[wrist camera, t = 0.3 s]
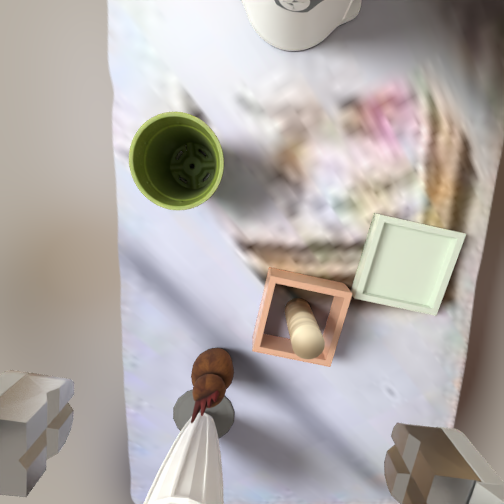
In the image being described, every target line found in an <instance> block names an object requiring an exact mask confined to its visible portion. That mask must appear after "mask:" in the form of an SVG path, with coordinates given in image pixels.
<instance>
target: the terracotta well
mask: <svg viewBox="0 0 504 504" xmlns="http://www.w3.org/2000/svg"><path fill="white" fill-rule="evenodd" d="M275 283H277V284H282V285H286V286H291V287H296V288H300V289H305V290H310V291H315V292H319V293H324V294H329V295H333V296H334V299H333V302H332V305H331V309H330V312H329V316H328V319H327V323H326V326H325V329H324V333H323V338H324V341H325V347H324V350H323V352H322V353H321V354H320V355H319V356H318V357H316V358H313V359H303V358H300V357H298V356H297V355H296V354H295V353H294V351H293V348H292V344H291V339H288V338H283V337H278V336H273V335H268V334H263V332H264V328H265V324H266V320H267V316H268V312H269V308H270V304H271V300H272V296H273V292H274V288H275ZM351 297H352V292H351V291H350V290H349V288H348V287H347V286H346V285H345V284H344V283H341V282H336V281H332V280H327V279H322V278H318V277H313V276H308V275H304V274H299V273H294V272H290V271H285V270H280V269H276V268H271V267H269V270H268V274H267V279H266V283H265V287H264V291H263V295H262V299H261V304H260V308H259V312H258V316H257V320H256V324H255V329H254V333H253V346H252V351H254V352H259V353H264V354H269V355H274V356H279V357H284V358H289V359H294V360H298V361H303V362H308V363H313V364H318V365H323V366H328V367H330V366H331V363H332V359H333V356H334V353H335V350H336V346H337V343H338V340H339V336H340V333H341V330H342V326H343V323H344V320H345V317H346V313H347V310H348V307H349V303H350V300H351Z"/></svg>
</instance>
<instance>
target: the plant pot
mask: <svg viewBox="0 0 504 504" xmlns="http://www.w3.org/2000/svg"><path fill="white" fill-rule="evenodd" d="M185 145H186V146H187V151H186V146H185ZM199 149H200V150H201V151H203V152H204V153H205V154H206V156H204V155H203V154H202V153H200V152H199ZM181 151H182V152H183V154H182V155H181V156H180V158H179V159H178V160H177V159H176V156H177V155H178V153H179V152H181ZM191 164H194V166H195V167H194V168H193V169H191V168H190V165H191ZM129 166H130V171H131V175H132V177H133V180H134V182H135V184H136V185H137V187H138V189H139V190H140V191H141V193H142V194H143V195H144V196H145V197H146V198H147V199H149V200H150V201H151V202H153V203H154V204H156V205H158V206H160V207H163V208H166V209H170V210H186V209H191V208H194V207H196V206H199V205H200V204H202V203H204V202H205V201H207V200H208V199H209V198H210V197H211V196H212V195H213V194H214V192H215V191H216V189H217V188H218V186H219V184H220V181H221V178H222V175H223V169H224V157H223V151H222V148H221V145H220V142H219V140H218V138H217V136H216V135H215V133H214V132H213V131H212V129H211V128H210V127H209V126H208V125H207V124H205V123H204V122H203V121H202V120H200V119H199V118H197V117H195V116H192V115H190V114H187V113H183V112H166V113H162V114H159V115H157V116H154V117H152V118H151V119H149V120H148V121H146V122H145V123H144V124H143V125H142V126H141V127H140V128H139V130H138V131H137V132H136V134H135V136H134V138H133V140H132V143H131V146H130V152H129ZM207 173H210V176H209V177H208V178H207V180H206V181H205V182H204V181H203V178H204V177H205V176H206V175H207ZM180 176H181V177H182V178H183V179H184V180H186V181H188V182H187V184H186V183H184V182H183V181H181V180H180V179H179V177H180Z"/></svg>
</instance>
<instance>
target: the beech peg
mask: <svg viewBox="0 0 504 504" xmlns="http://www.w3.org/2000/svg"><path fill="white" fill-rule="evenodd" d="M284 312H285V317H286V321H287V326H288V330H289V335H290V339H291V344H292V348H293V351H294V353H295V354H296V355H297V356H298V357H300V358H303V359H313V358H316V357H318V356H319V355H320V354H321V353H322V352H323V350H324V347H325V341H324V338H323V336H322V333H321V331H320V329H319V326H318V324H317V322H316V319H315V317H314V315H313V312H312V310H311V308H310V305H309V304H308V302H307V301H305V300H304V299H301V298H294V299H292V300H290V301H289V302H288V303H287V304H286V306H285V309H284Z"/></svg>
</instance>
